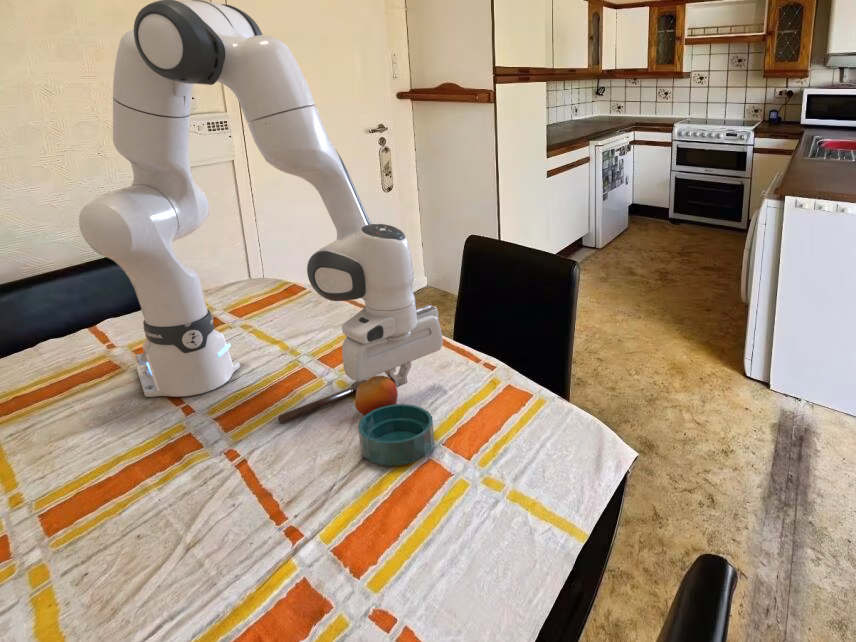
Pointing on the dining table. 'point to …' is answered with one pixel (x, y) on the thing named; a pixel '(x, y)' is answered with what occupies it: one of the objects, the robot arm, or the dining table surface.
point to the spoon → (319, 403)
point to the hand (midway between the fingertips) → (399, 384)
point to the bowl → (396, 434)
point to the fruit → (375, 394)
